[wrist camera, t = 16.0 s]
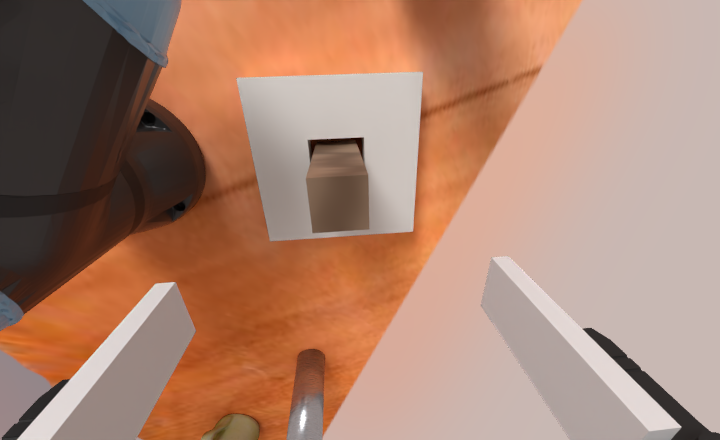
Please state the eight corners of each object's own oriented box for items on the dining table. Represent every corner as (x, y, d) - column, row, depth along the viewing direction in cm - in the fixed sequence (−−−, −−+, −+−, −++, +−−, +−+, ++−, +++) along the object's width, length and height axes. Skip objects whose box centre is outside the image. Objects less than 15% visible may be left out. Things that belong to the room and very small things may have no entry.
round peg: (299, 368, 49) (287, 465, 37) (295, 350, 47) (281, 446, 35) (326, 366, 50) (323, 461, 37) (323, 347, 48) (320, 442, 35)
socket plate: (274, 229, 37) (270, 241, 34) (245, 78, 29) (236, 77, 26) (407, 221, 38) (413, 231, 35) (414, 72, 30) (423, 71, 27)
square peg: (320, 178, 34) (312, 233, 22) (316, 141, 32) (305, 178, 20) (356, 176, 34) (369, 229, 22) (355, 139, 32) (368, 174, 20)
